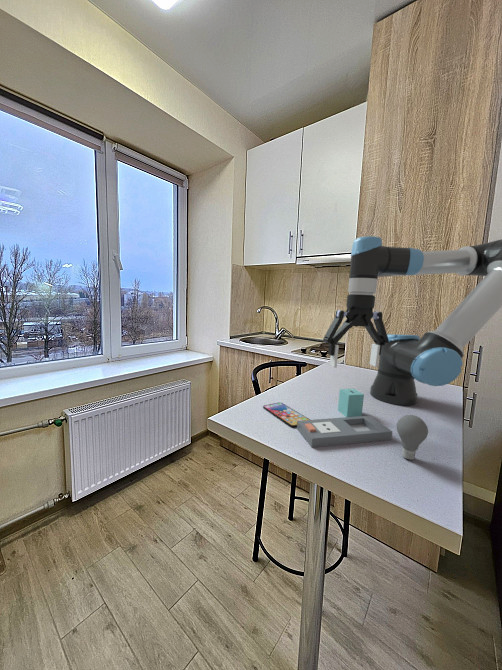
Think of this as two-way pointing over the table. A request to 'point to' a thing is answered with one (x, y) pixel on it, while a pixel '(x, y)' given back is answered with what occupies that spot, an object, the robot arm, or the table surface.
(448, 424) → the table surface
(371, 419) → the power strip
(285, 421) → the smartphone
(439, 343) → the robot arm
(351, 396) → the block
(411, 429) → the light bulb
